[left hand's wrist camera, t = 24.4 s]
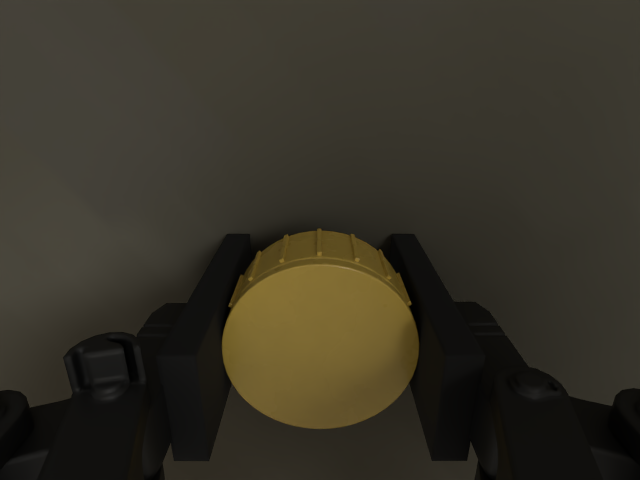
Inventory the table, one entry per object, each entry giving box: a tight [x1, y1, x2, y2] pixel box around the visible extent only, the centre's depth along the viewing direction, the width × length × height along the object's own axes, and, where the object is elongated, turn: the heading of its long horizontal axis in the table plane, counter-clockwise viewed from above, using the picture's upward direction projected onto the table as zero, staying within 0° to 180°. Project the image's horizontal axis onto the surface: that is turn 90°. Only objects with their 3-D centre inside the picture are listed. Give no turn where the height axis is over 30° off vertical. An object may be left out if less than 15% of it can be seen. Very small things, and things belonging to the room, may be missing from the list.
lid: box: [222, 229, 420, 429], centre depth 11 cm, size 5×5×2 cm
